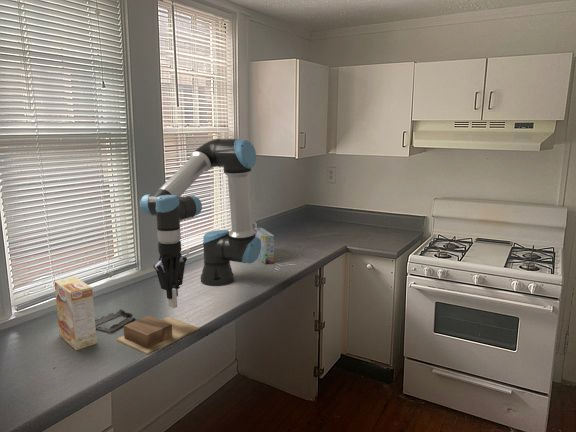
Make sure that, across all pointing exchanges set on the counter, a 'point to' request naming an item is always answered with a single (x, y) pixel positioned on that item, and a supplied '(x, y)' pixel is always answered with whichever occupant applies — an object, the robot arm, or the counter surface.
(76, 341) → the coffeecake box
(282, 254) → the counter surface
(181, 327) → the light wood board
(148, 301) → the counter surface
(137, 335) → the walnut slab
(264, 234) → the snack box
